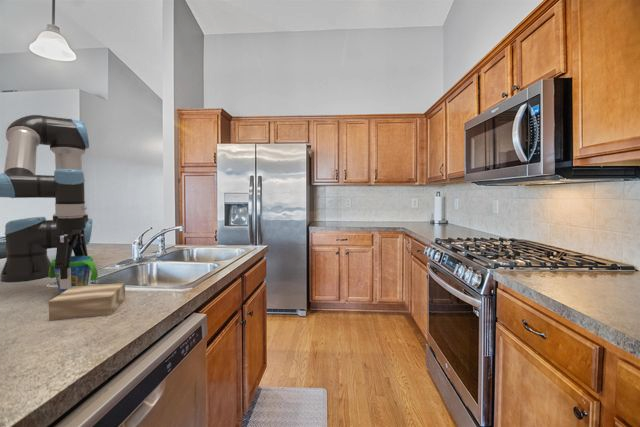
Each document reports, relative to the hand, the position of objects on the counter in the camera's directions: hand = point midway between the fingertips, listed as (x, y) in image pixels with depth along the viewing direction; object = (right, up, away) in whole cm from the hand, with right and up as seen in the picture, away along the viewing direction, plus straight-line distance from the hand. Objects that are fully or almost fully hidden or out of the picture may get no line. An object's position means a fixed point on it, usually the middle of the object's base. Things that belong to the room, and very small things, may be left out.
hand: (73, 283), depth 102 cm
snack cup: (0, -2, 0) cm, 2 cm away
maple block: (+15, -5, -12) cm, 20 cm away
